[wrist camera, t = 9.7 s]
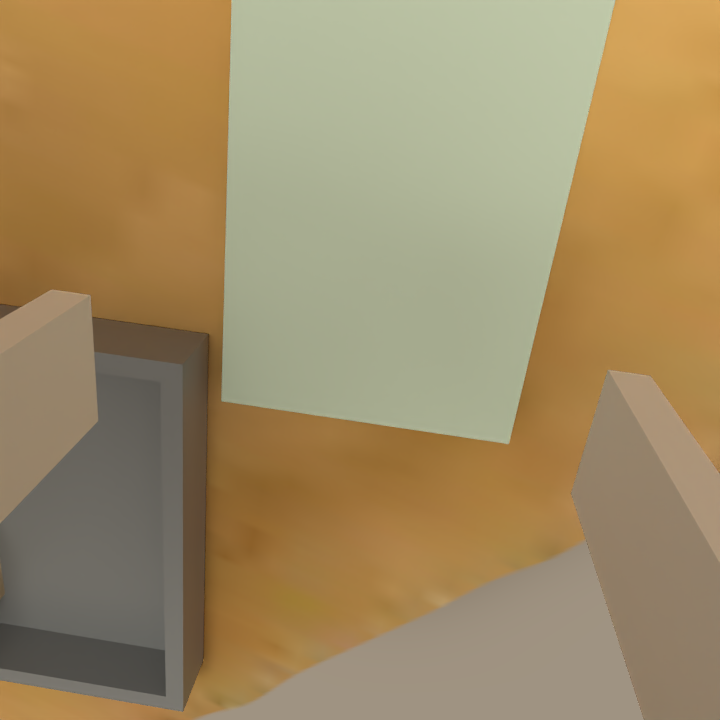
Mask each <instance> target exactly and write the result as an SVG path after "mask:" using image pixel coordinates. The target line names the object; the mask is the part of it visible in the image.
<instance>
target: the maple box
mask: <svg viewBox="0 0 720 720" xmlns="http://www.w3.org/2000/svg"><path fill="white" fill-rule="evenodd" d="M4 594H5V590H4V583H3V576H2V570H1V563H0V599H1V598H2V597H3V596H4Z"/></svg>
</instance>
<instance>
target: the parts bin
mask: <svg viewBox="0 0 720 720" xmlns="http://www.w3.org/2000/svg"><path fill="white" fill-rule="evenodd" d="M18 308H20V307H17V306H10V305H3V304H0V319H1V318H3V317H4V316H6V315H8V314H10V313H11V312H13V311H15V310H17V309H18ZM92 326H93V342H94V359H95V375H96V392H97V408H98V422H97V423H96V424H95V425H94V426H93V427H92V428H91V429H90V430H89V431H88V432H87V433H86V434H85V435H84V436H83V437H82V438H81V439H80V441H79V442H78V443H77V444H76V445H75V446H74V447H73V448H72V449H71V450H70V451H69V452H68V453H67V454H66V455H65V456H64V457H63V458H62V459H61V460H60V461H59V462H58V464H57V465H56V466H55V467H54V468H53V469H52V470H51V471H50V472H49V473H48V474H47V475H46V476H45V477H44V478H43V479H42V480H41V481H40V482H39V483H38V484H37V485H36V487H35V488H34V489H33V490H32V491H31V492H30V493H29V494H28V495H27V496H26V497H25V498H24V499H23V500H22V501H21V502H20V503H19V504H18V505H17V506H16V507H15V508H14V510H13V511H12V512H11V513H10V514H9V515H8V516H7V517H6V518H5V519H4V520H3V521H2V522H1V523H0V563H1V570H2V576H3V583H4V590H5V594H4V596H3V597H2V598H1V599H0V680H2V681H8V682H14V683H20V684H25V685H31V686H37V687H43V688H49V689H54V690H60V691H66V692H72V693H78V694H83V695H89V696H95V697H101V698H107V699H112V700H118V701H124V702H130V703H136V704H142V705H147V706H153V707H159V708H165V709H171V710H176V711H182V712H183V711H184V708H185V706H186V703H187V701H188V698H189V695H190V693H191V690H192V688H193V685H194V683H195V680H196V677H197V675H198V672H199V670H200V667H201V665H202V662H203V646H204V584H205V522H206V460H207V398H208V336H209V334H205V333H198V332H191V331H184V330H177V329H170V328H163V327H156V326H149V325H142V324H135V323H128V322H121V321H114V320H107V319H100V318H93V317H92Z"/></svg>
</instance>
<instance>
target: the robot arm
mask: <svg viewBox="0 0 720 720" xmlns="http://www.w3.org/2000/svg"><path fill="white" fill-rule="evenodd" d="M97 422H98V408H97V392H96V375H95V359H94V342H93V326H92V309H91V295H87V294H80V293H73V292H66V291H59V290H52V289H51V290H50V291H48V292H46V293H44V294H43V295H41V296H39V297H37V298H36V299H34V300H32V301H31V302H29V303H27V304H25V305H24V306H22V307H20V308H18V309H17V310H15V311H13V312H11V313H10V314H8V315H6V316H4V317H3V318H1V319H0V523H1V522H2V521H3V520H4V519H5V518H6V517H7V516H8V515H9V514H10V513H11V512H12V511H13V510H14V508H15V507H16V506H17V505H18V504H19V503H20V502H21V501H22V500H23V499H24V498H25V497H26V496H27V495H28V494H29V493H30V492H31V491H32V490H33V489H34V488H35V487H36V485H37V484H38V483H39V482H40V481H41V480H42V479H43V478H44V477H45V476H46V475H47V474H48V473H49V472H50V471H51V470H52V469H53V468H54V467H55V466H56V465H57V464H58V462H59V461H60V460H61V459H62V458H63V457H64V456H65V455H66V454H67V453H68V452H69V451H70V450H71V449H72V448H73V447H74V446H75V445H76V444H77V443H78V442H79V441H80V439H81V438H82V437H83V436H84V435H85V434H86V433H87V432H88V431H89V430H90V429H91V428H92V427H93V426H94V425H95V424H96V423H97ZM571 495H572V498H573V501H574V504H575V508H576V511H577V514H578V517H579V520H580V523H581V526H582V529H583V532H584V535H585V539H586V542H587V545H588V548H589V551H590V554H591V557H592V560H593V563H594V566H595V569H596V573H597V576H598V578H599V582H600V585H601V588H602V591H603V594H604V597H605V600H606V604H607V607H608V610H609V613H610V616H611V619H612V622H613V625H614V628H615V632H616V635H617V638H618V641H619V644H620V647H621V650H622V653H623V656H624V659H625V663H626V666H627V669H628V672H629V675H630V678H631V681H632V684H633V687H634V690H635V694H636V697H637V700H638V703H639V706H640V709H641V712H642V715H643V718H644V720H720V474H719V472H718V471H717V470H716V468H715V467H714V465H713V464H712V462H711V461H710V460H709V458H708V457H707V455H706V454H705V453H704V451H703V450H702V448H701V447H700V445H699V444H698V443H697V441H696V440H695V438H694V437H693V435H692V434H691V433H690V431H689V430H688V428H687V427H686V426H685V424H684V423H683V421H682V420H681V418H680V417H679V416H678V414H677V413H676V411H675V410H674V409H673V407H672V406H671V404H670V403H669V401H668V400H667V399H666V397H665V396H664V394H663V393H662V392H661V390H660V389H659V387H658V386H657V384H656V383H655V382H654V380H653V379H652V377H651V376H649V375H642V374H635V373H628V372H621V371H614V370H608V371H607V375H606V378H605V381H604V385H603V388H602V391H601V395H600V398H599V401H598V405H597V408H596V411H595V415H594V418H593V422H592V425H591V428H590V432H589V435H588V438H587V442H586V445H585V448H584V452H583V455H582V458H581V462H580V465H579V468H578V472H577V475H576V478H575V482H574V485H573V488H572V492H571Z"/></svg>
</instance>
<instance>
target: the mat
mask: <svg viewBox="0 0 720 720" xmlns="http://www.w3.org/2000/svg"><path fill="white" fill-rule="evenodd" d="M614 4H615V0H232V10H231V49H230V87H229V125H228V164H227V202H226V240H225V279H224V317H223V355H222V394H221V401H223V402H230V403H236V404H243V405H250V406H257V407H263V408H270V409H277V410H284V411H290V412H297V413H304V414H310V415H317V416H324V417H331V418H337V419H344V420H351V421H357V422H364V423H371V424H378V425H384V426H391V427H398V428H405V429H411V430H418V431H425V432H431V433H438V434H445V435H452V436H458V437H465V438H472V439H479V440H485V441H492V442H499V443H505V444H509V441H510V437H511V433H512V429H513V425H514V420H515V416H516V412H517V408H518V404H519V400H520V395H521V391H522V387H523V383H524V379H525V375H526V370H527V366H528V362H529V358H530V354H531V350H532V345H533V341H534V337H535V333H536V329H537V325H538V320H539V316H540V312H541V308H542V304H543V300H544V295H545V291H546V287H547V283H548V279H549V275H550V270H551V266H552V262H553V258H554V254H555V250H556V245H557V241H558V237H559V233H560V229H561V225H562V220H563V216H564V212H565V208H566V204H567V200H568V195H569V191H570V187H571V183H572V179H573V175H574V170H575V166H576V162H577V158H578V154H579V150H580V145H581V141H582V137H583V133H584V129H585V125H586V120H587V116H588V112H589V108H590V104H591V100H592V95H593V91H594V87H595V83H596V79H597V75H598V70H599V66H600V62H601V58H602V54H603V50H604V45H605V41H606V37H607V33H608V29H609V25H610V20H611V16H612V12H613V8H614Z"/></svg>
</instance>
